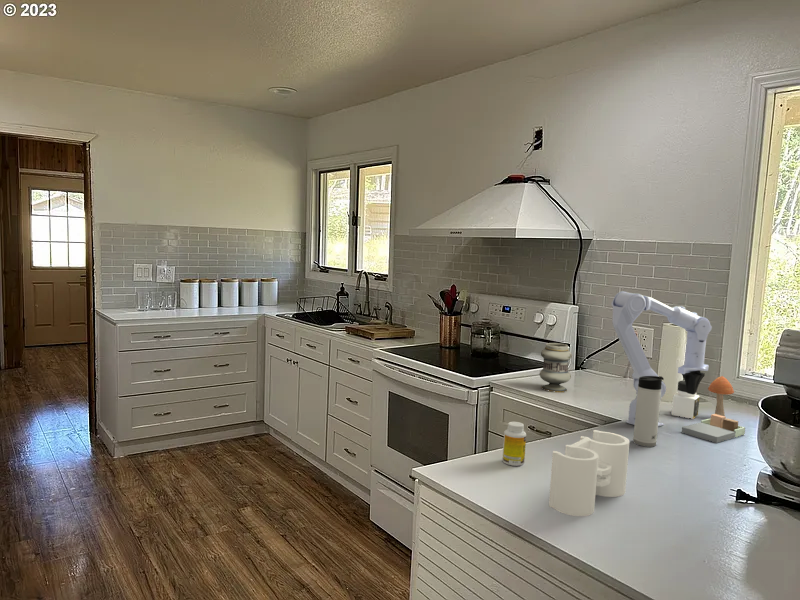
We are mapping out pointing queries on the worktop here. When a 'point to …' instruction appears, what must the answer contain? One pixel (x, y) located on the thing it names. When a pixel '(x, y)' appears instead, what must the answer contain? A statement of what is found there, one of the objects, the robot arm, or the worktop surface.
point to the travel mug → (647, 410)
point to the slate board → (708, 432)
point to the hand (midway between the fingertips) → (691, 393)
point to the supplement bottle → (514, 444)
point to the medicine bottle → (685, 402)
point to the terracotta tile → (717, 420)
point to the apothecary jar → (555, 366)
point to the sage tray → (738, 431)
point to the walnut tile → (730, 424)
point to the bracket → (588, 473)
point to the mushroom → (720, 392)
